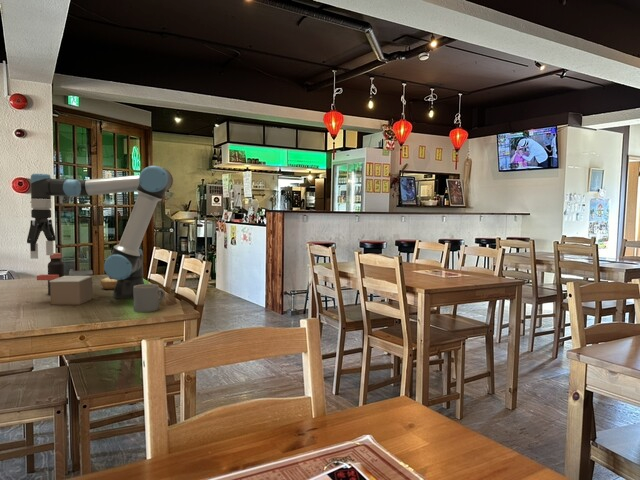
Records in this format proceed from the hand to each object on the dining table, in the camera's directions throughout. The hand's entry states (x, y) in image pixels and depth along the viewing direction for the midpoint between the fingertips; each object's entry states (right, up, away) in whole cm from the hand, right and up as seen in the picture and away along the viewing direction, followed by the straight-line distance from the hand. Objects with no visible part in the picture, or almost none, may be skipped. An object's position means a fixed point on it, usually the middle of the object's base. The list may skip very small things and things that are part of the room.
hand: (42, 256), depth 200 cm
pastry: (+14, -18, +38) cm, 45 cm away
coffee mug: (+51, -22, -8) cm, 56 cm away
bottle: (-5, -19, +19) cm, 27 cm away
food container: (-1, -18, +32) cm, 37 cm away
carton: (+12, -20, +3) cm, 24 cm away
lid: (+8, -10, +2) cm, 13 cm away
